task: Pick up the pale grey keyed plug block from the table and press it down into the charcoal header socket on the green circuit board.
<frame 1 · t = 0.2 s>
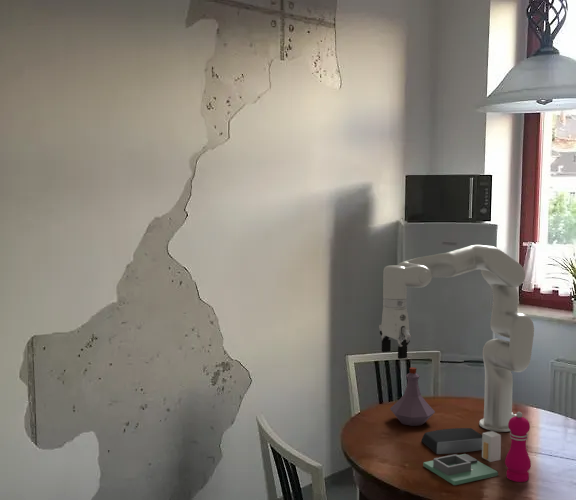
hand: (394, 354, 221), 31 cm above the table, fingers open, 9 cm apart
flask: (412, 422, 248), on the table
external hard drive: (455, 446, 225), on the table
pepper mill: (517, 478, 199), on the table
plug: (491, 458, 214), on the table
board: (459, 470, 204), on the table
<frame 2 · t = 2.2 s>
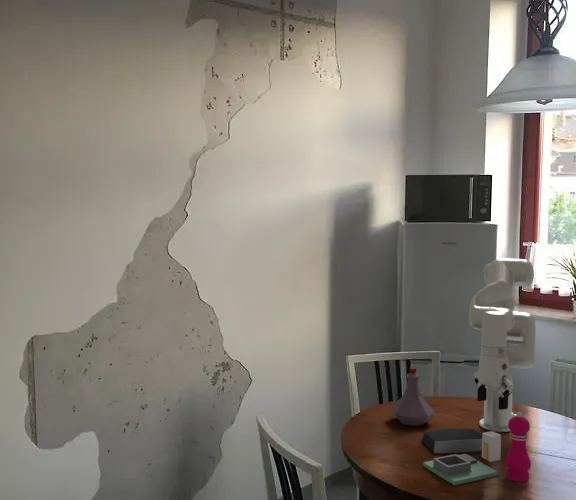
hand: (492, 404, 212), 18 cm above the table, fingers open, 9 cm apart
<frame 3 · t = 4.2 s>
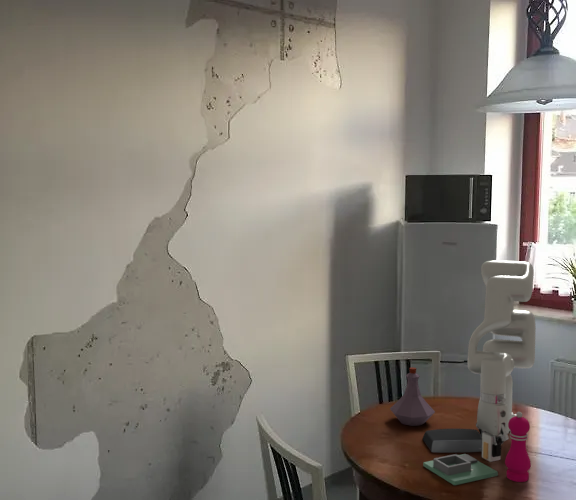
hand: (491, 453, 213), 2 cm above the table, fingers closed on plug, 4 cm apart
plug: (491, 458, 214), on the table, touching gripper
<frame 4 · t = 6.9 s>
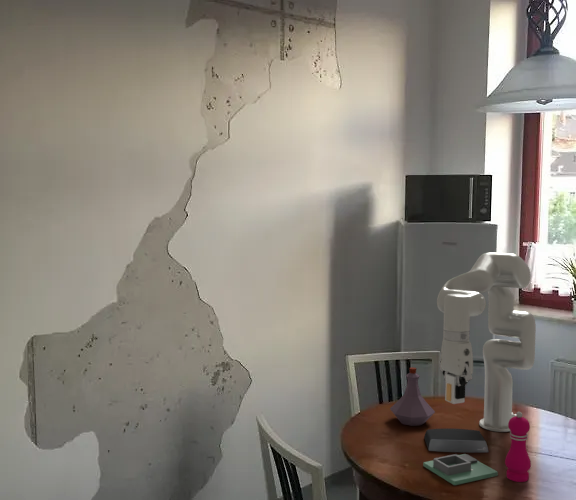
hand: (454, 395, 201), 24 cm above the table, fingers closed on plug, 4 cm apart
plug: (454, 401, 201), point 22 cm above the table, touching gripper
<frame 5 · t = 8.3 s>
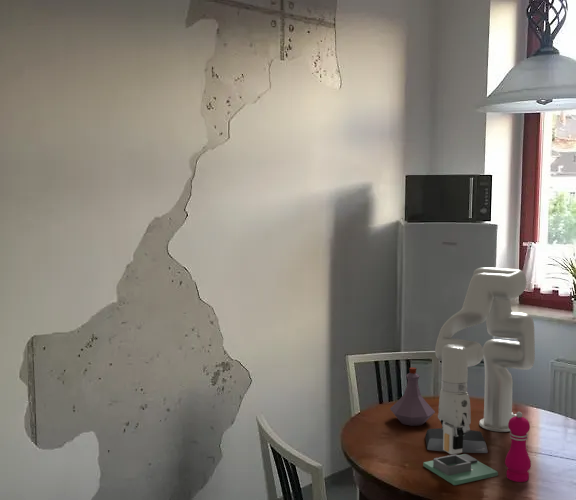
hand: (452, 445, 202), 8 cm above the table, fingers closed on plug, 4 cm apart
plug: (452, 451, 202), point 7 cm above the table, touching gripper
when the fingers open (4 cm above the table, at t = 9.5 s): plug stays where it is, resting on board.
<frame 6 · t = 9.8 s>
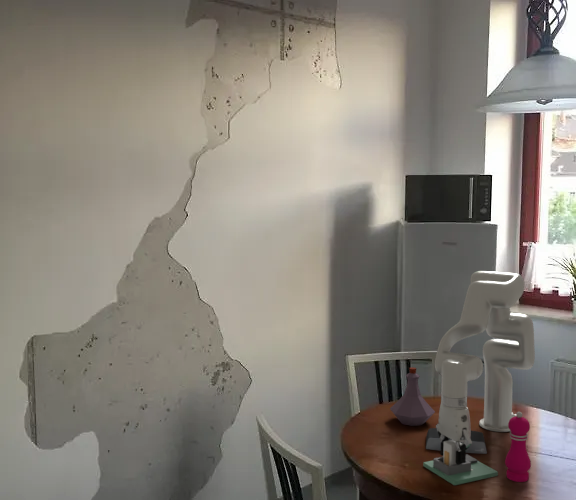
hand: (452, 458, 203), 4 cm above the table, fingers open, 6 cm apart
plug: (452, 468, 203), point 1 cm above the table, touching board
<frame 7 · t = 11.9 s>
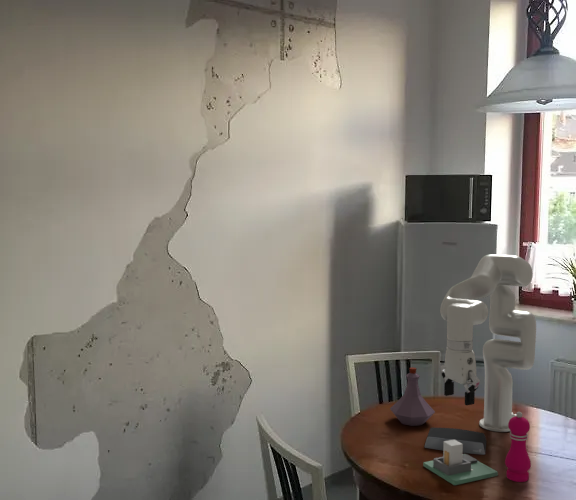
hand: (459, 399, 205), 21 cm above the table, fingers open, 9 cm apart
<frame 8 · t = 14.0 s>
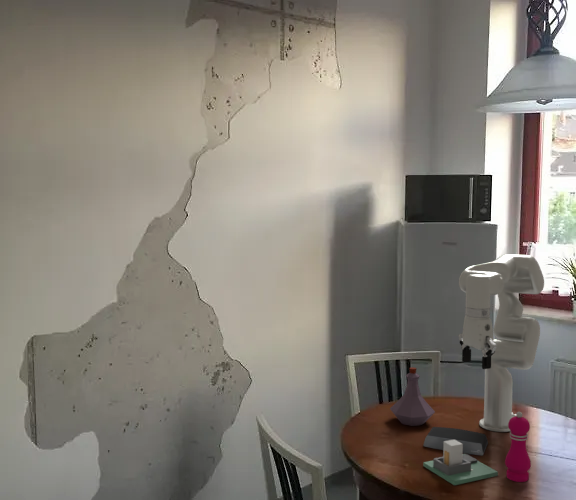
hand: (476, 364, 218), 28 cm above the table, fingers open, 9 cm apart
at the end: plug 0.3 cm from the target spot on the board, point 1.2 cm above the board's base; plug tilted 0°; the gripper is holding nothing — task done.
